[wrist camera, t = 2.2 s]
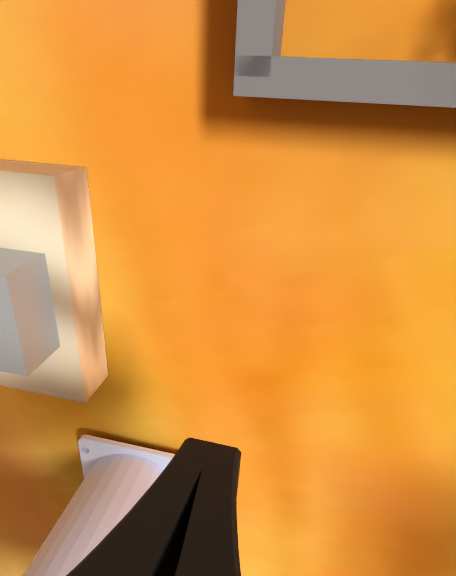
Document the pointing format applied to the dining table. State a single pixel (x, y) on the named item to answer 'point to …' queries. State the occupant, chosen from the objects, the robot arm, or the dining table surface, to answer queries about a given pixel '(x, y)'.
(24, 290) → the tile slate
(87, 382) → the board
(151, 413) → the dining table surface
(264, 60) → the gray open frame
